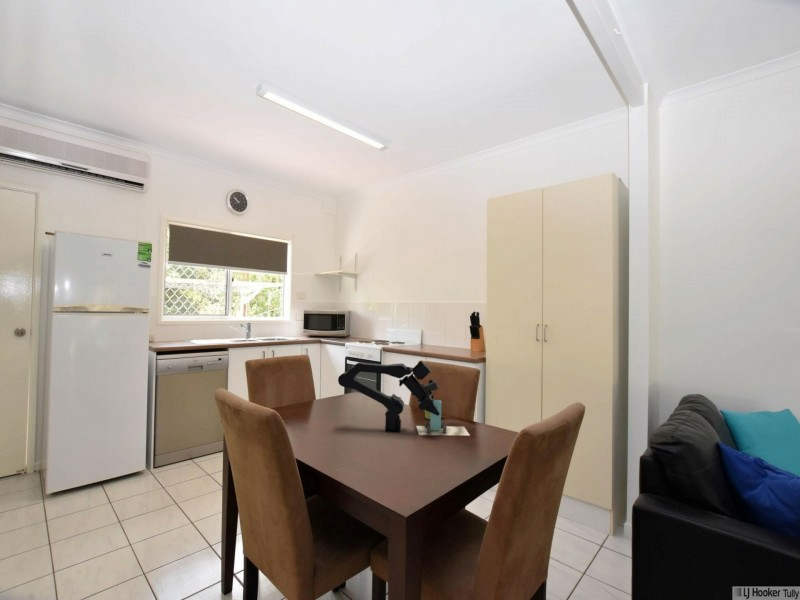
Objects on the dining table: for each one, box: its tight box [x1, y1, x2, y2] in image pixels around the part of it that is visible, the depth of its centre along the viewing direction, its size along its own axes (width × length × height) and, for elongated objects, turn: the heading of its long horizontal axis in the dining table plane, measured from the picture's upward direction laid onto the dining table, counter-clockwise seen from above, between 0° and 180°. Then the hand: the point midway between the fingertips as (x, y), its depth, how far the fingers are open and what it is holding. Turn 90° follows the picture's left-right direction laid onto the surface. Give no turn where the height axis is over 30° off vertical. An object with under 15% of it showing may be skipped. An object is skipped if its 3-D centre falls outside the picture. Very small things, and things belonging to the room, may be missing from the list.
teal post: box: [429, 399, 442, 430], centre depth 166 cm, size 4×4×12 cm
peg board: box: [415, 420, 471, 437], centre depth 166 cm, size 22×12×4 cm, turn 93°
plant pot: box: [424, 410, 431, 420], centre depth 185 cm, size 9×9×9 cm
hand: (439, 413), depth 165 cm, fingers open, 5 cm apart
